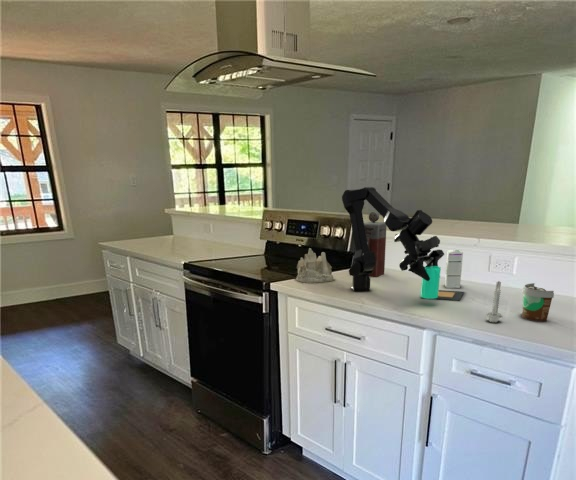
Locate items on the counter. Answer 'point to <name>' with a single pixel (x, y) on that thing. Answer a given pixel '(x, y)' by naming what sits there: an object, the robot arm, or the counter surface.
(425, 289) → the candle
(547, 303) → the food container
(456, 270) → the grey tower
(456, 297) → the mat
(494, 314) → the screw
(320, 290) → the counter surface
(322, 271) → the sand castle
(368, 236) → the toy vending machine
